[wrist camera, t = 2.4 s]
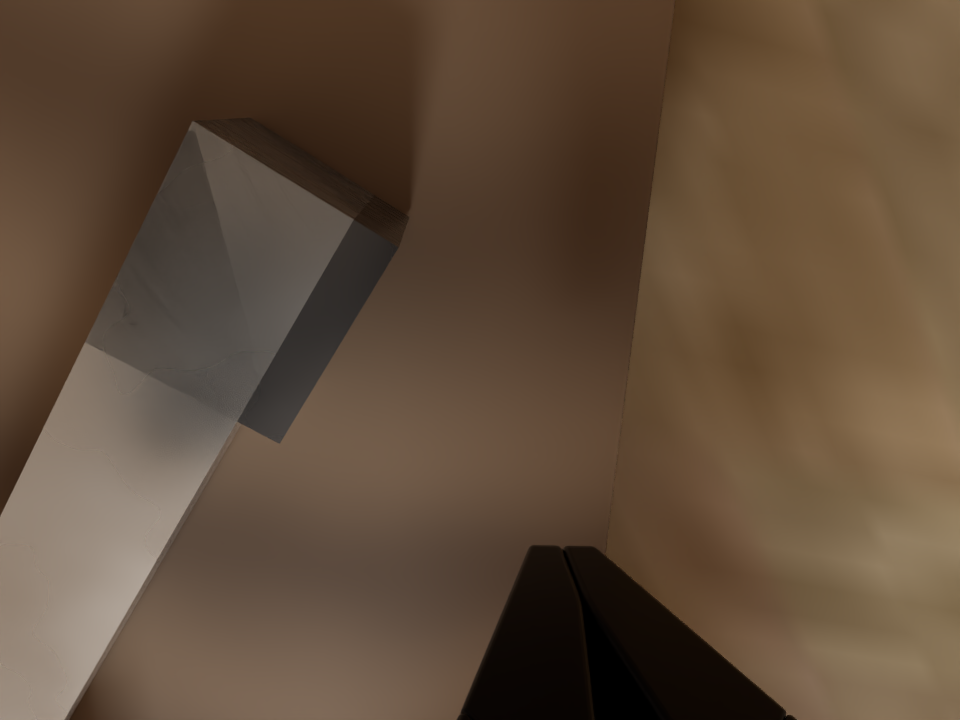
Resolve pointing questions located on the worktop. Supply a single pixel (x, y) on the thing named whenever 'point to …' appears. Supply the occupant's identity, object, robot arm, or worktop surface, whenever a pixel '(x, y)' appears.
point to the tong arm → (177, 388)
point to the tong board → (374, 333)
